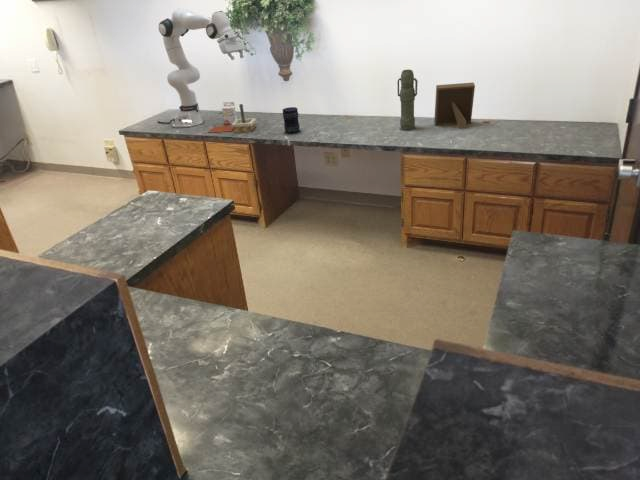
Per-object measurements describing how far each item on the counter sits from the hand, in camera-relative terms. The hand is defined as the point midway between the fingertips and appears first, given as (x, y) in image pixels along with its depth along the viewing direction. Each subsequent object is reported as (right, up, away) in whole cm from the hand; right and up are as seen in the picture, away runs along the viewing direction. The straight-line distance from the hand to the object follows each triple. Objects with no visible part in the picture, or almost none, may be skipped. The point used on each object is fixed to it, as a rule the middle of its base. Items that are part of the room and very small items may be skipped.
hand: (237, 58), depth 321 cm
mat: (-16, -38, +32) cm, 52 cm away
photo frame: (+134, -44, -8) cm, 142 cm away
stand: (+1, -39, +26) cm, 47 cm away
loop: (0, -36, +24) cm, 43 cm away
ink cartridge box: (-12, -31, +45) cm, 56 cm away
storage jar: (+34, -44, +11) cm, 57 cm away
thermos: (+107, -45, -4) cm, 116 cm away
